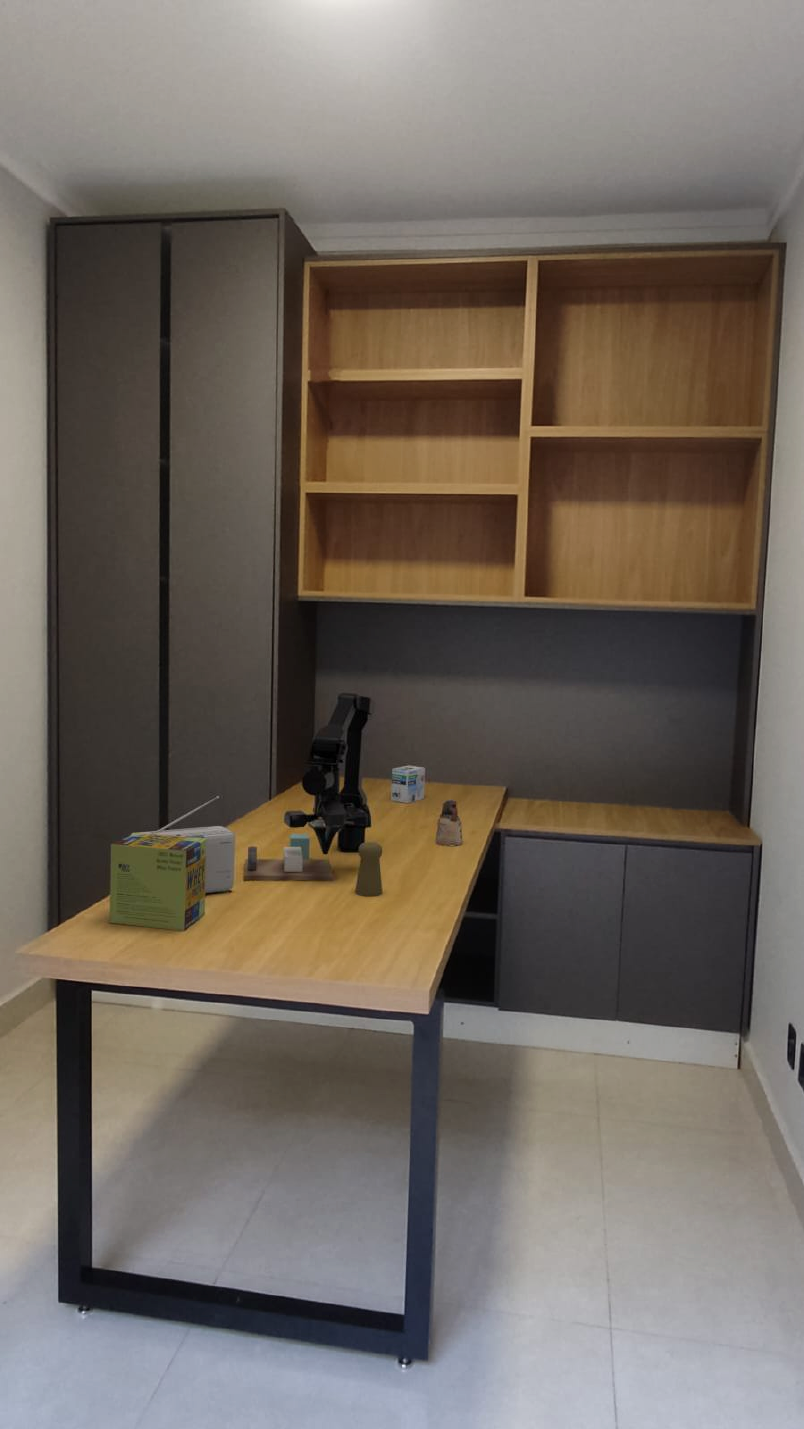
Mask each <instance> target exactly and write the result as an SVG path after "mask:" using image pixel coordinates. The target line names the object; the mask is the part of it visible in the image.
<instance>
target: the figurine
mask: <svg viewBox="0 0 804 1429" xmlns="http://www.w3.org/2000/svg"><path fill="white" fill-rule="evenodd" d="M457 804H458V802H457V801H456V799H455V800H454V799H447V800H446V801H444V802H443V803H442V807H441V808H442V809H441V813H440V814H439V819H438V821H437V829H436V834H435V843H436V844H437V845H440V846H444V845H459V846H461V845H462V844H463V830H462V829H463V828H462V821H461V818H460V816H459V815H458V808H457Z"/></svg>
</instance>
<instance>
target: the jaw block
mask: <svg viewBox="0 0 804 1429" xmlns="http://www.w3.org/2000/svg"><path fill="white" fill-rule="evenodd" d="M289 847H301V851H302V856H303V859H310V835H309V833H307V834H305V833H290V834H289Z"/></svg>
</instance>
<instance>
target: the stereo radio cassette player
mask: <svg viewBox="0 0 804 1429" xmlns="http://www.w3.org/2000/svg"><path fill="white" fill-rule="evenodd" d="M219 798H220V796H219V795H217V796H216V797H215V798H213V799H211V800H209V801H208V802H207V801H206V802H205V803H204V804H202V805H200V806H198V807H196V808H194V809H192V810H190V811H189V812H188V813H186V814H184V815H182V816H180V817H179V818H177V819H175V820H173V821H172V822H170V823H168V824H167V825H165V826H164V827H161V828H160V829H157V830H156V831H155V830H154V831H141V832H138V833H145V834H157V835H171V836H182V837H193V838H206V876H205V894H208V893H209V894H210V893H218V892H225V893H226V892H228V891H229V890H230V889H232V888H233V887H234V884H235V883H234V882H235V861H236V860H235V853H236V850H235V849H236V834H235V833H234V831H231V830H229V828H227V827H224V826H221V825H214V826H205V827H204V826H201V827H189V828H179V829H178V828H177V829H168V828H169V827H171V826H173V825H175V824H177V823H178V822H180V821H181V820H182V819H185V818H186V817H188V816H190V815H192V814H193V813H195V812H197V811H198V810H200V809H202V808H203V807H205V806H206V805H208V804H209V803H211V802H213V801H215V800H216V799H219ZM166 829H167V830H166ZM135 833H136V832H132V833H131V834H130V835H133V834H135Z"/></svg>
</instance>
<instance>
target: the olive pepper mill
mask: <svg viewBox="0 0 804 1429" xmlns="http://www.w3.org/2000/svg"><path fill="white" fill-rule="evenodd" d="M382 854H383V847H382V845H381V844H379V843H377V842H374V841H366V842H365V843H362V844H361V845H360V846H359V851H358V856H359V857H360V860H359V867H358V873H357V878H356V883H355V890H354V893H355V895H357V896H361V897H370V898H371V897H379V896H382V895H383V886H382V884H383V883H382V873H381V862H380V858H381V857H382Z"/></svg>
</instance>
